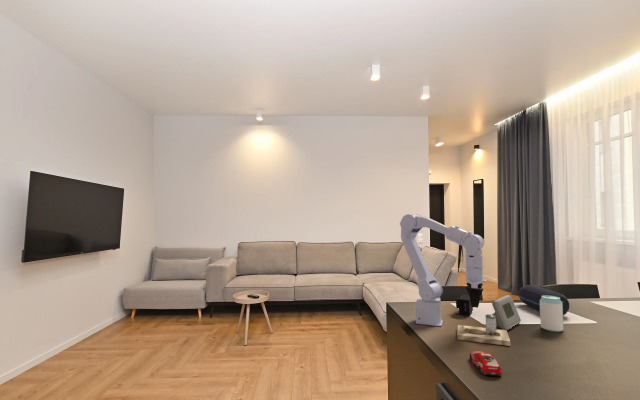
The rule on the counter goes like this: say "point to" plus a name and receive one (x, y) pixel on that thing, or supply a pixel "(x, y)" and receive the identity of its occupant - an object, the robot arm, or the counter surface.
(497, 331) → the keyhole board
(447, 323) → the counter surface
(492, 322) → the peg
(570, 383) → the counter surface
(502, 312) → the digital clock
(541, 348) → the counter surface
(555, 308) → the can
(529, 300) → the portable speaker
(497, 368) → the race car
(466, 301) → the digital camera
